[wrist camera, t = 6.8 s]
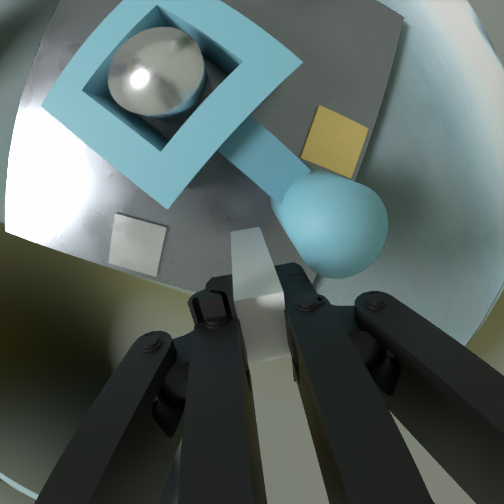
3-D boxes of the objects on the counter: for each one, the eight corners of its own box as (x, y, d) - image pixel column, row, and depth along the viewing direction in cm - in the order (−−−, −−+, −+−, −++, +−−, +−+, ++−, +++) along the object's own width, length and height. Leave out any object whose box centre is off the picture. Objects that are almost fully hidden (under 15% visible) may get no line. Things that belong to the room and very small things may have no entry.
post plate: (12, 226, 15) (-38, 258, 9) (99, -47, 8) (68, -83, 2) (294, 307, 19) (317, 367, 14) (396, 21, 12) (449, -5, 6)
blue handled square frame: (277, 267, 16) (301, 330, 11) (82, 110, 12) (16, 104, 6) (368, 170, 15) (434, 191, 9) (174, 5, 10) (150, -52, 5)
